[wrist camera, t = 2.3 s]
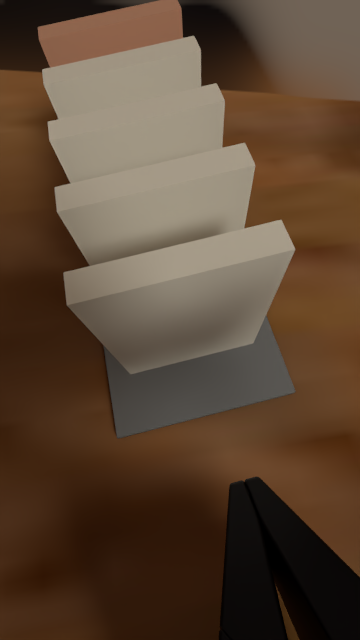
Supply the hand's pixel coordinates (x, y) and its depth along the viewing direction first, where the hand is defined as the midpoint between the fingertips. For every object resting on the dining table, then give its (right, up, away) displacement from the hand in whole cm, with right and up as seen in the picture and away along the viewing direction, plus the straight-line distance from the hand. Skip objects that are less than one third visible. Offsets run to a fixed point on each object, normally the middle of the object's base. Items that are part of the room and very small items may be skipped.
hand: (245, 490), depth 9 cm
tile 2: (-2, +7, +17) cm, 19 cm away
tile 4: (-5, +16, +21) cm, 27 cm away
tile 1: (-1, +2, +15) cm, 16 cm away
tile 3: (-3, +11, +19) cm, 23 cm away
